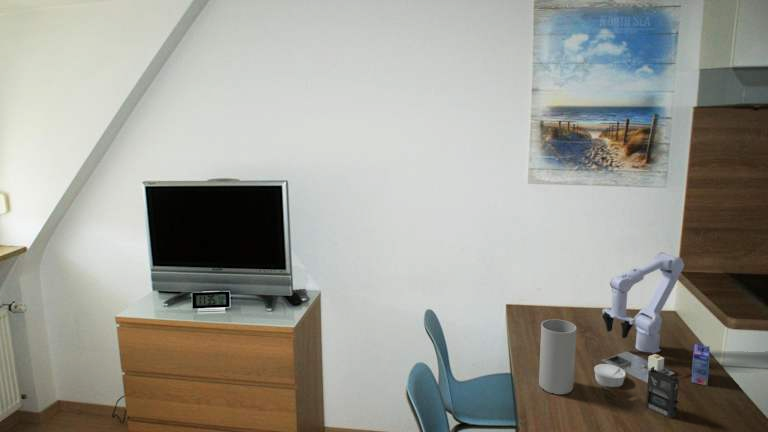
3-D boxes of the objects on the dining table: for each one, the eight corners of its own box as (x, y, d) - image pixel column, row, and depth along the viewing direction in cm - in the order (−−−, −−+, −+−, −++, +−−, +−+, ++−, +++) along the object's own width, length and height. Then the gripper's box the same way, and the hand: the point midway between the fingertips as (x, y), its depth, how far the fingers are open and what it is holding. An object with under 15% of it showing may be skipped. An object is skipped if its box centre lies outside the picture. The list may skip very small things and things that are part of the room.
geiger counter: (680, 415, 178) (684, 375, 175) (673, 420, 175) (677, 379, 172) (650, 402, 186) (653, 364, 183) (643, 406, 184) (646, 367, 181)
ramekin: (628, 391, 194) (629, 378, 193) (596, 389, 196) (597, 376, 195) (620, 376, 204) (621, 364, 203) (590, 374, 206) (591, 362, 205)
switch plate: (626, 353, 223) (627, 349, 223) (674, 375, 204) (675, 370, 204) (601, 362, 216) (601, 357, 216) (648, 385, 197) (648, 381, 197)
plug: (653, 367, 209) (655, 352, 207) (663, 371, 205) (664, 356, 204) (647, 370, 207) (648, 354, 206) (656, 374, 203) (658, 358, 202)
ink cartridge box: (691, 371, 207) (695, 337, 204) (707, 374, 204) (711, 340, 201) (690, 382, 199) (694, 347, 196) (707, 386, 196) (711, 350, 193)
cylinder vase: (570, 379, 203) (573, 320, 198) (575, 396, 191) (578, 334, 186) (537, 377, 205) (539, 318, 200) (540, 393, 193) (542, 331, 188)
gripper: (598, 300, 221) (596, 330, 224) (627, 311, 209) (625, 342, 211) (609, 297, 225) (607, 326, 227) (639, 308, 212) (636, 339, 215)
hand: (616, 334), depth 220 cm, fingers open, 7 cm apart
